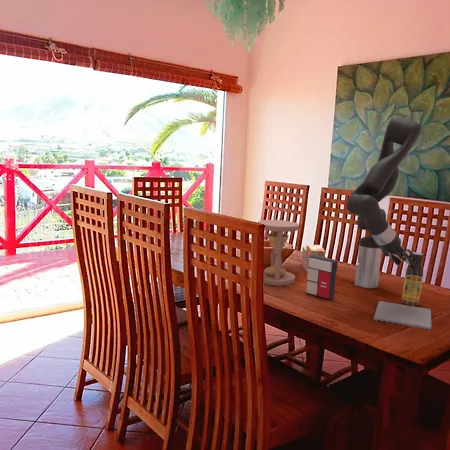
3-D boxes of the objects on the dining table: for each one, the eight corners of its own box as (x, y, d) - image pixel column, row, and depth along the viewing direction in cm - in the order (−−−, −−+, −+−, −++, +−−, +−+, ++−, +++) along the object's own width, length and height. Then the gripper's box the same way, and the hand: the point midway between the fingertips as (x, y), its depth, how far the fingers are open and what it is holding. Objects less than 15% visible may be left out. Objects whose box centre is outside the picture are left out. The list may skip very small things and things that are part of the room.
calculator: (304, 293, 183) (307, 256, 181) (310, 291, 186) (313, 254, 184) (328, 300, 176) (332, 262, 174) (334, 298, 179) (337, 260, 177)
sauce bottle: (401, 305, 174) (407, 253, 171) (401, 300, 180) (406, 250, 177) (420, 307, 172) (426, 255, 169) (419, 303, 178) (425, 252, 174)
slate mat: (373, 319, 157) (373, 317, 157) (378, 302, 176) (379, 300, 175) (431, 329, 150) (431, 327, 150) (430, 311, 169) (430, 309, 169)
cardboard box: (301, 264, 230) (303, 240, 228) (313, 265, 230) (315, 241, 228) (309, 276, 209) (311, 249, 207) (323, 277, 209) (325, 250, 207)
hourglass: (294, 287, 191) (298, 227, 186) (252, 283, 193) (255, 224, 189) (295, 276, 208) (299, 221, 204) (256, 272, 211) (259, 218, 206)
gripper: (406, 233, 160) (428, 263, 166) (378, 226, 173) (399, 254, 179) (392, 248, 159) (415, 278, 165) (365, 240, 172) (387, 268, 178)
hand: (407, 266), depth 172 cm, fingers open, 8 cm apart
